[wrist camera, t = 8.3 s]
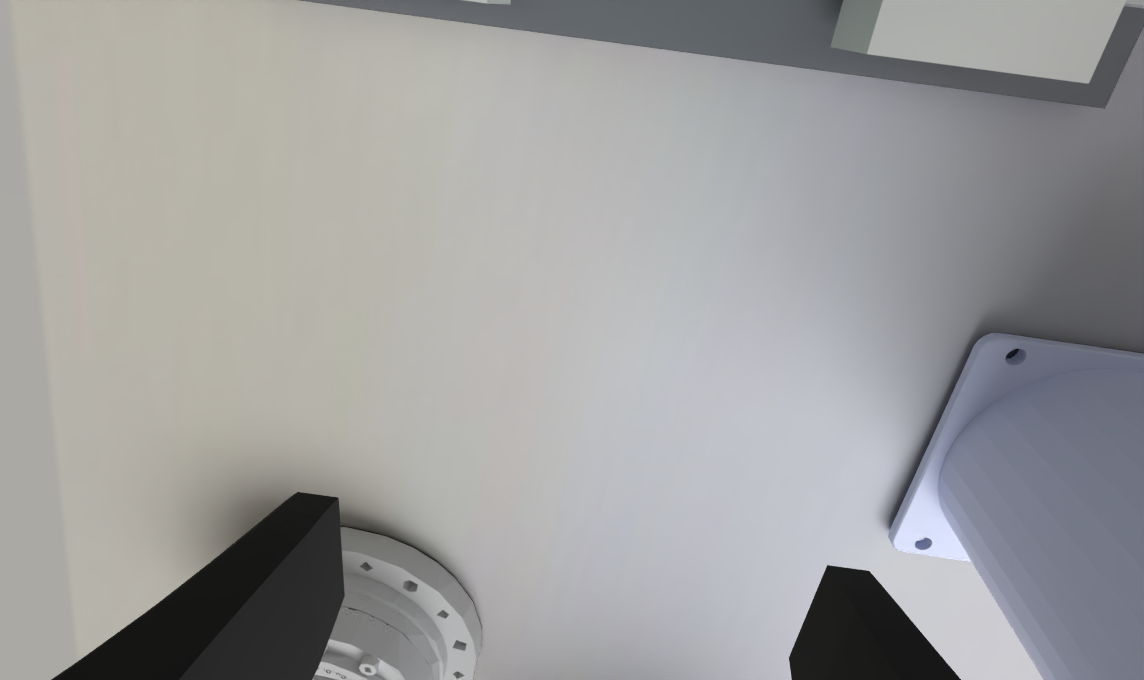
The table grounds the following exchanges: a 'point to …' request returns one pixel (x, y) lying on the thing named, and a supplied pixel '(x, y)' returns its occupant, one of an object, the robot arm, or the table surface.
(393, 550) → the mechanical component
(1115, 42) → the rail board
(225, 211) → the table surface
